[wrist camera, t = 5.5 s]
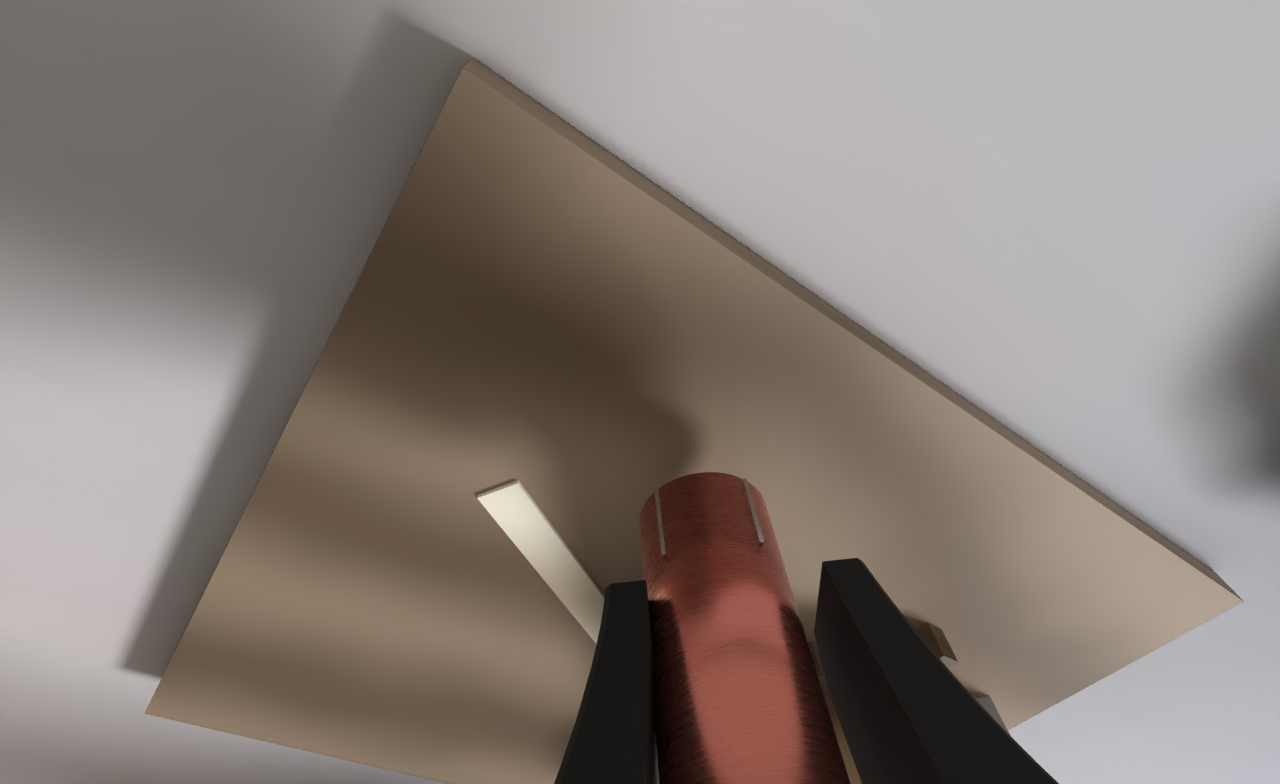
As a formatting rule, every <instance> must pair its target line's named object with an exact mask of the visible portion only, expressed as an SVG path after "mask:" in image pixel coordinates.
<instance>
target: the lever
mask: <svg viewBox="0 0 1280 784" xmlns="http://www.w3.org/2000/svg"><path fill="white" fill-rule="evenodd" d="M654 491H655V492H654V493H653V494H652V495H651V496H650V497H649V498H648V500H647V501H646V503H645V504H644V506H643V508H642V511H641V514H640V520H639V525H640V539H641V551H642V564H643V577H644V580H646V584H647V592H648V600H649V612H650V624H651V636H652V648H653V696H654V719H655V732H656V745H657V758H658V771H659V784H850V781H849V777H848V774H847V771H846V767H845V764H844V761H843V757H842V754H841V751H840V748H839V744H838V741H837V738H836V734H835V731H834V728H833V724H832V721H831V718H830V715H829V711H828V708H827V705H826V701H825V698H824V695H823V691H822V688H821V685H820V682H819V678H818V675H817V672H816V668H815V665H814V662H813V659H812V655H811V652H810V649H809V645H808V642H807V639H806V635H805V632H804V629H803V626H802V622H801V619H800V616H799V612H798V609H797V606H796V602H795V599H794V596H793V593H792V589H791V586H790V583H789V579H788V576H787V573H786V569H785V566H784V563H783V560H782V556H781V553H780V550H779V546H778V543H777V540H776V536H775V533H774V530H773V527H772V523H771V520H770V517H769V513H768V510H767V507H766V503H765V500H764V498H763V496H762V495H761V493H760V492H759V491H758V489H757V488H755V487H754V486H753V485H752V484H751V483H749V482H748V481H747V479H742V478H740V477H737V476H734V475H730V474H726V473H719V472H702V473H695V474H690V475H686V476H682V477H680V478H677V479H674V480H672V481H670V482H668V483H666V484H665V485H663V486H662V487H660V488H659V489H656V490H654Z"/></svg>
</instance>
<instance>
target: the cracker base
mask: <svg viewBox="0 0 1280 784" xmlns="http://www.w3.org/2000/svg"><path fill="white" fill-rule="evenodd" d="M702 472H719V473H726V474H730V475H734V476H737V477H740V478H742V479H747V481H748V482H749V483H751V484H752V485H753V486H754V487H755V488H757V489H758V491H759V492H760V493H761V495H762V496H763V498H764V500H765V503H766V507H767V510H768V513H769V517H770V520H771V523H772V527H773V530H774V533H775V536H776V540H777V543H778V546H779V550H780V553H781V556H782V560H783V563H784V566H785V569H786V573H787V576H788V579H789V583H790V586H791V589H792V593H793V596H794V599H795V602H796V606H797V609H798V612H799V616H800V619H801V622H802V626H803V629H804V632H805V635H806V639H807V642H808V645H809V649H810V652H811V655H812V659H813V662H814V665H815V668H816V672H817V675H818V678H819V682H820V685H821V688H822V691H823V695H825V694H826V692H827V690H828V687H827V683H826V679H825V675H824V671H823V667H822V663H821V659H820V655H819V651H818V647H817V643H816V639H815V635H814V627H815V619H816V610H817V602H818V594H819V585H820V577H821V568H822V561H831V560H840V559H850V558H859V559H860V560H861V561H863V562H864V564H865V565H866V566H867V568H868V569H869V571H870V572H871V573H872V575H873V576H874V577H875V579H876V580H877V581H878V583H879V584H880V585H881V587H882V588H883V589H884V591H885V592H886V593H887V595H888V596H889V597H890V599H891V600H892V601H893V602H894V604H895V605H896V606H897V608H898V609H899V610H900V611H901V613H902V614H903V615H904V616H905V618H906V619H907V620H908V621H909V623H910V624H911V625H912V626H913V628H914V629H915V630H916V631H917V633H918V634H919V635H920V636H921V637H922V639H923V640H924V641H925V642H926V643H927V645H928V646H929V647H930V648H931V649H932V650H933V652H934V653H935V654H936V655H937V656H938V657H939V658H940V660H941V661H942V662H943V663H944V664H945V665H946V667H947V668H948V669H949V670H950V671H951V672H952V673H953V675H954V676H955V677H956V678H957V679H958V680H959V682H960V683H961V684H962V685H963V686H964V687H965V688H966V689H967V690H968V691H969V693H970V694H971V695H972V696H973V697H974V698H975V699H976V700H977V701H978V702H979V704H980V705H981V706H982V707H983V708H984V709H985V710H986V711H987V712H988V713H989V714H990V715H991V716H992V717H993V718H994V719H995V720H996V722H997V723H998V724H999V725H1000V726H1001V727H1002V728H1003V729H1004V730H1005V731H1006V732H1007V733H1008V734H1009V732H1008V730H1009V729H1011V728H1013V727H1015V726H1017V725H1018V724H1020V723H1022V722H1024V721H1026V720H1028V719H1029V718H1031V717H1033V716H1035V715H1037V714H1039V713H1040V712H1042V711H1044V710H1046V709H1048V708H1050V707H1051V706H1053V705H1055V704H1057V703H1059V702H1061V701H1062V700H1064V699H1066V698H1068V697H1070V696H1072V695H1073V694H1075V693H1077V692H1079V691H1081V690H1083V689H1084V688H1086V687H1088V686H1090V685H1092V684H1094V683H1095V682H1097V681H1099V680H1101V679H1103V678H1105V677H1106V676H1108V675H1110V674H1112V673H1114V672H1116V671H1117V670H1119V669H1121V668H1123V667H1125V666H1127V665H1128V664H1130V663H1132V662H1134V661H1136V660H1138V659H1139V658H1141V657H1143V656H1145V655H1147V654H1149V653H1150V652H1152V651H1154V650H1156V649H1158V648H1160V647H1161V646H1163V645H1165V644H1167V643H1169V642H1171V641H1172V640H1174V639H1176V638H1178V637H1180V636H1182V635H1183V634H1185V633H1187V632H1189V631H1191V630H1193V629H1194V628H1196V627H1198V626H1200V625H1202V624H1204V623H1205V622H1207V621H1209V620H1211V619H1213V618H1215V617H1216V616H1218V615H1220V614H1222V613H1224V612H1226V611H1227V610H1229V609H1231V608H1233V607H1235V606H1237V605H1238V604H1240V603H1242V602H1244V601H1243V600H1242V599H1241V598H1240V597H1239V596H1238V595H1237V594H1236V593H1235V592H1234V591H1233V590H1232V589H1231V588H1230V587H1229V586H1228V585H1227V584H1226V583H1225V582H1224V581H1223V580H1222V579H1221V578H1220V577H1219V576H1218V574H1217V573H1215V572H1214V571H1212V570H1211V569H1210V568H1208V567H1207V566H1205V565H1204V564H1202V563H1201V562H1200V561H1198V560H1197V559H1195V558H1194V557H1192V556H1191V555H1189V554H1188V553H1187V552H1185V551H1184V550H1182V549H1181V548H1179V547H1178V546H1176V545H1175V544H1174V543H1172V542H1171V541H1169V540H1168V539H1166V538H1165V537H1163V536H1162V535H1161V534H1159V533H1158V532H1156V531H1155V530H1153V529H1152V528H1151V527H1149V526H1148V525H1146V524H1145V523H1143V522H1142V521H1140V520H1139V519H1138V518H1136V517H1135V516H1133V515H1132V514H1130V513H1129V512H1127V511H1126V510H1125V509H1123V508H1122V507H1120V506H1119V505H1117V504H1116V503H1114V502H1113V501H1112V500H1110V499H1109V498H1107V497H1106V496H1104V495H1103V494H1102V493H1100V492H1099V491H1097V490H1096V489H1094V488H1093V487H1091V486H1090V485H1089V484H1087V483H1086V482H1084V481H1083V480H1081V479H1080V478H1078V477H1077V476H1076V475H1074V474H1073V473H1071V472H1070V471H1068V470H1067V469H1065V468H1064V467H1063V466H1061V465H1060V464H1058V463H1057V462H1055V461H1054V460H1053V459H1051V458H1050V457H1048V456H1047V455H1045V454H1044V453H1042V452H1041V451H1040V450H1038V449H1037V448H1035V447H1034V446H1032V445H1031V444H1029V443H1028V442H1027V441H1025V440H1024V439H1022V438H1021V437H1019V436H1018V435H1017V434H1015V433H1014V432H1012V431H1011V430H1009V429H1008V428H1006V427H1005V426H1004V425H1002V424H1001V423H999V422H998V421H996V420H995V419H993V418H992V417H991V416H989V415H988V414H986V413H985V412H983V411H982V410H980V409H979V408H978V407H976V406H975V405H973V404H972V403H970V402H969V401H968V400H966V399H965V398H963V397H962V396H960V395H959V394H957V393H956V392H955V391H953V390H952V389H950V388H949V387H947V386H946V385H944V384H943V383H942V382H940V381H939V380H937V379H936V378H934V377H933V376H931V375H930V374H929V373H927V372H926V371H924V370H923V369H921V368H920V367H919V366H917V365H916V364H914V363H913V362H911V361H910V360H908V359H907V358H906V357H904V356H903V355H901V354H900V353H898V352H897V351H895V350H894V349H893V348H891V347H890V346H888V345H887V344H885V343H884V342H882V341H881V340H880V339H878V338H877V337H875V336H874V335H872V334H871V333H870V332H868V331H867V330H865V329H864V328H862V327H861V326H859V325H858V324H857V323H855V322H854V321H852V320H851V319H849V318H848V317H846V316H845V315H844V314H842V313H841V312H839V311H838V310H836V309H835V308H833V307H832V306H831V305H829V304H828V303H826V302H825V301H823V300H822V299H821V298H819V297H818V296H816V295H815V294H813V293H812V292H810V291H809V290H808V289H806V288H805V287H803V286H802V285H800V284H799V283H797V282H796V281H795V280H793V279H792V278H790V277H789V276H787V275H786V274H785V273H783V272H782V271H780V270H779V269H777V268H776V267H774V266H773V265H772V264H770V263H769V262H767V261H766V260H764V259H763V258H761V257H760V256H759V255H757V254H756V253H754V252H753V251H751V250H750V249H748V248H747V247H746V246H744V245H743V244H741V243H740V242H738V241H737V240H736V239H734V238H733V237H731V236H730V235H728V234H727V233H725V232H724V231H723V230H721V229H720V228H718V227H717V226H715V225H714V224H712V223H711V222H710V221H708V220H707V219H705V218H704V217H702V216H701V215H699V214H698V213H697V212H695V211H694V210H692V209H691V208H689V207H688V206H687V205H685V204H684V203H682V202H681V201H679V200H678V199H676V198H675V197H674V196H672V195H671V194H669V193H668V192H666V191H665V190H663V189H662V188H661V187H659V186H658V185H656V184H655V183H653V182H652V181H650V180H649V179H648V178H646V177H645V176H643V175H642V174H640V173H639V172H638V171H636V170H635V169H633V168H632V167H630V166H629V165H627V164H626V163H625V162H623V161H622V160H620V159H619V158H617V157H616V156H614V155H613V154H612V153H610V152H609V151H607V150H606V149H604V148H603V147H601V146H600V145H599V144H597V143H596V142H594V141H593V140H591V139H590V138H589V137H587V136H586V135H584V134H583V133H581V132H580V131H578V130H577V129H576V128H574V127H573V126H571V125H570V124H568V123H567V122H565V121H564V120H563V119H561V118H560V117H558V116H557V115H555V114H554V113H553V112H551V111H550V110H548V109H547V108H545V107H544V106H542V105H541V104H540V103H538V102H537V101H535V100H534V99H532V98H531V97H529V96H528V95H527V94H525V93H524V92H522V91H521V90H519V89H518V88H516V87H515V86H514V85H512V84H511V83H509V82H508V81H506V80H505V79H504V78H502V77H501V76H499V75H498V74H496V73H495V72H493V71H492V70H491V69H489V68H488V67H486V66H485V65H483V64H482V63H480V62H479V61H478V60H476V59H475V58H472V59H471V60H470V61H469V62H468V63H467V64H466V65H465V66H464V67H463V68H462V70H461V72H460V74H459V76H458V78H457V80H456V82H455V84H454V86H453V88H452V90H451V92H450V94H449V96H448V98H447V100H446V102H445V105H444V107H443V109H442V111H441V113H440V115H439V117H438V119H437V121H436V123H435V125H434V127H433V129H432V131H431V133H430V135H429V137H428V139H427V141H426V143H425V145H424V147H423V149H422V151H421V153H420V155H419V157H418V159H417V161H416V163H415V165H414V167H413V169H412V172H411V174H410V176H409V178H408V180H407V182H406V184H405V186H404V188H403V190H402V192H401V194H400V196H399V198H398V200H397V202H396V204H395V206H394V208H393V210H392V212H391V214H390V216H389V218H388V220H387V222H386V224H385V226H384V228H383V230H382V232H381V234H380V236H379V239H378V241H377V243H376V245H375V247H374V249H373V251H372V253H371V255H370V257H369V259H368V261H367V263H366V265H365V267H364V269H363V271H362V273H361V275H360V277H359V279H358V281H357V283H356V285H355V287H354V289H353V291H352V293H351V295H350V297H349V299H348V301H347V303H346V306H345V308H344V310H343V312H342V314H341V316H340V318H339V320H338V322H337V324H336V326H335V328H334V330H333V332H332V334H331V336H330V338H329V340H328V342H327V344H326V346H325V348H324V350H323V352H322V354H321V356H320V358H319V360H318V362H317V364H316V366H315V368H314V370H313V372H312V375H311V377H310V379H309V381H308V383H307V385H306V387H305V389H304V391H303V393H302V395H301V397H300V399H299V401H298V403H297V405H296V407H295V409H294V411H293V413H292V415H291V417H290V419H289V421H288V423H287V425H286V427H285V429H284V431H283V433H282V435H281V437H280V439H279V442H278V444H277V446H276V448H275V450H274V452H273V454H272V456H271V458H270V460H269V462H268V464H267V466H266V468H265V470H264V472H263V474H262V476H261V478H260V480H259V482H258V484H257V486H256V488H255V490H254V492H253V494H252V496H251V498H250V500H249V502H248V504H247V506H246V509H245V511H244V513H243V515H242V517H241V519H240V521H239V523H238V525H237V527H236V529H235V531H234V533H233V535H232V537H231V539H230V541H229V543H228V545H227V547H226V549H225V551H224V553H223V555H222V557H221V559H220V561H219V563H218V565H217V567H216V569H215V571H214V573H213V576H212V578H211V580H210V582H209V584H208V586H207V588H206V590H205V592H204V594H203V596H202V598H201V600H200V602H199V604H198V606H197V608H196V610H195V612H194V614H193V616H192V618H191V620H190V622H189V624H188V626H187V628H186V630H185V632H184V634H183V636H182V638H181V640H180V643H179V645H178V647H177V649H176V651H175V653H174V655H173V657H172V659H171V661H170V663H169V665H168V667H167V669H166V671H165V673H164V675H163V677H162V679H161V681H160V683H159V685H158V687H157V689H156V691H155V693H154V695H153V697H152V699H151V701H150V703H149V705H148V707H147V710H146V712H145V714H149V715H153V716H158V717H162V718H166V719H171V720H175V721H179V722H184V723H188V724H192V725H197V726H201V727H205V728H210V729H214V730H218V731H223V732H227V733H231V734H236V735H240V736H244V737H249V738H253V739H257V740H262V741H266V742H270V743H275V744H279V745H283V746H288V747H292V748H296V749H301V750H305V751H309V752H314V753H318V754H322V755H327V756H331V757H335V758H340V759H344V760H348V761H353V762H357V763H361V764H366V765H370V766H374V767H379V768H383V769H387V770H392V771H396V772H400V773H405V774H409V775H413V776H418V777H422V778H426V779H431V780H435V781H439V782H444V783H448V784H554V783H555V780H556V777H557V774H558V772H559V769H560V766H561V763H562V760H563V757H564V754H565V751H566V748H567V745H568V742H569V739H570V736H571V733H572V730H573V727H574V725H575V722H576V718H577V715H578V712H579V709H580V705H581V701H582V698H583V694H584V691H585V687H586V684H587V680H588V676H589V673H590V669H591V666H592V661H593V657H594V653H595V649H596V644H597V640H598V635H599V630H600V625H601V619H602V613H603V606H604V596H605V588H606V587H608V586H609V585H610V584H612V583H621V582H631V581H640V580H644V577H643V564H642V551H641V539H640V525H639V520H640V514H641V511H642V508H643V506H644V504H645V503H646V501H647V500H648V498H649V497H650V496H651V495H652V494H653V493H654V492H655V491H654V490H656V489H659V488H660V487H662V486H663V485H665V484H666V483H668V482H670V481H672V480H674V479H677V478H680V477H682V476H686V475H690V474H695V473H702ZM1009 735H1010V734H1009Z"/></svg>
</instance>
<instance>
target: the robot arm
mask: <svg viewBox="0 0 1280 784" xmlns="http://www.w3.org/2000/svg"><path fill="white" fill-rule="evenodd" d="M814 635H815V639H816V643H817V647H818V651H819V655H820V659H821V663H822V667H823V671H824V675H825V679H826V683H827V687H828V691H829V694H830V697H831V699H832V702H833V705H834V708H835V711H836V713H837V716H838V719H839V722H840V724H841V727H842V730H843V733H844V736H845V738H846V741H847V744H848V747H849V749H850V752H851V755H852V757H853V760H854V763H855V766H856V768H857V771H858V774H859V777H860V779H861V782H862V784H1059V783H1058V782H1057V781H1056V780H1054V779H1053V778H1052V777H1051V776H1050V775H1049V774H1048V773H1047V772H1046V771H1045V770H1044V769H1043V768H1042V767H1041V766H1040V765H1039V764H1038V763H1037V762H1036V761H1035V760H1034V759H1033V758H1032V757H1031V756H1030V755H1029V754H1028V753H1027V752H1026V751H1025V750H1024V749H1023V748H1022V747H1021V746H1020V745H1019V744H1018V743H1017V742H1016V741H1015V740H1014V739H1013V738H1012V737H1011V736H1010V735H1009V734H1008V733H1007V732H1006V731H1005V730H1004V729H1003V728H1002V727H1001V726H1000V725H999V724H998V723H997V722H996V720H995V719H994V718H993V717H992V716H991V715H990V714H989V713H988V712H987V711H986V710H985V709H984V708H983V707H982V706H981V705H980V704H979V702H978V701H977V700H976V699H975V698H974V697H973V696H972V695H971V694H970V693H969V691H968V690H967V689H966V688H965V687H964V686H963V685H962V684H961V683H960V682H959V680H958V679H957V678H956V677H955V676H954V675H953V673H952V672H951V671H950V670H949V669H948V668H947V667H946V665H945V664H944V663H943V662H942V661H941V660H940V658H939V657H938V656H937V655H936V654H935V653H934V652H933V650H932V649H931V648H930V647H929V646H928V645H927V643H926V642H925V641H924V640H923V639H922V637H921V636H920V635H919V634H918V633H917V631H916V630H915V629H914V628H913V626H912V625H911V624H910V623H909V621H908V620H907V619H906V618H905V616H904V615H903V614H902V613H901V611H900V610H899V609H898V608H897V606H896V605H895V604H894V602H893V601H892V600H891V599H890V597H889V596H888V595H887V593H886V592H885V591H884V589H883V588H882V587H881V585H880V584H879V583H878V581H877V580H876V579H875V577H874V576H873V575H872V573H871V572H870V571H869V569H868V568H867V566H866V565H865V564H864V562H863V561H861V560H860V559H859V558H850V559H840V560H831V561H822V568H821V577H820V585H819V594H818V602H817V610H816V619H815V627H814ZM554 784H659V771H658V758H657V745H656V732H655V719H654V696H653V648H652V636H651V624H650V612H649V600H648V592H647V584H646V580H640V581H631V582H621V583H612V584H610V585H609V586H608V587H606V588H605V596H604V606H603V613H602V619H601V625H600V630H599V635H598V640H597V644H596V649H595V653H594V657H593V661H592V666H591V669H590V673H589V676H588V680H587V684H586V687H585V691H584V694H583V698H582V701H581V705H580V709H579V712H578V715H577V718H576V722H575V725H574V727H573V730H572V733H571V736H570V739H569V742H568V745H567V748H566V751H565V754H564V757H563V760H562V763H561V766H560V769H559V772H558V774H557V777H556V780H555V783H554Z"/></svg>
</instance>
